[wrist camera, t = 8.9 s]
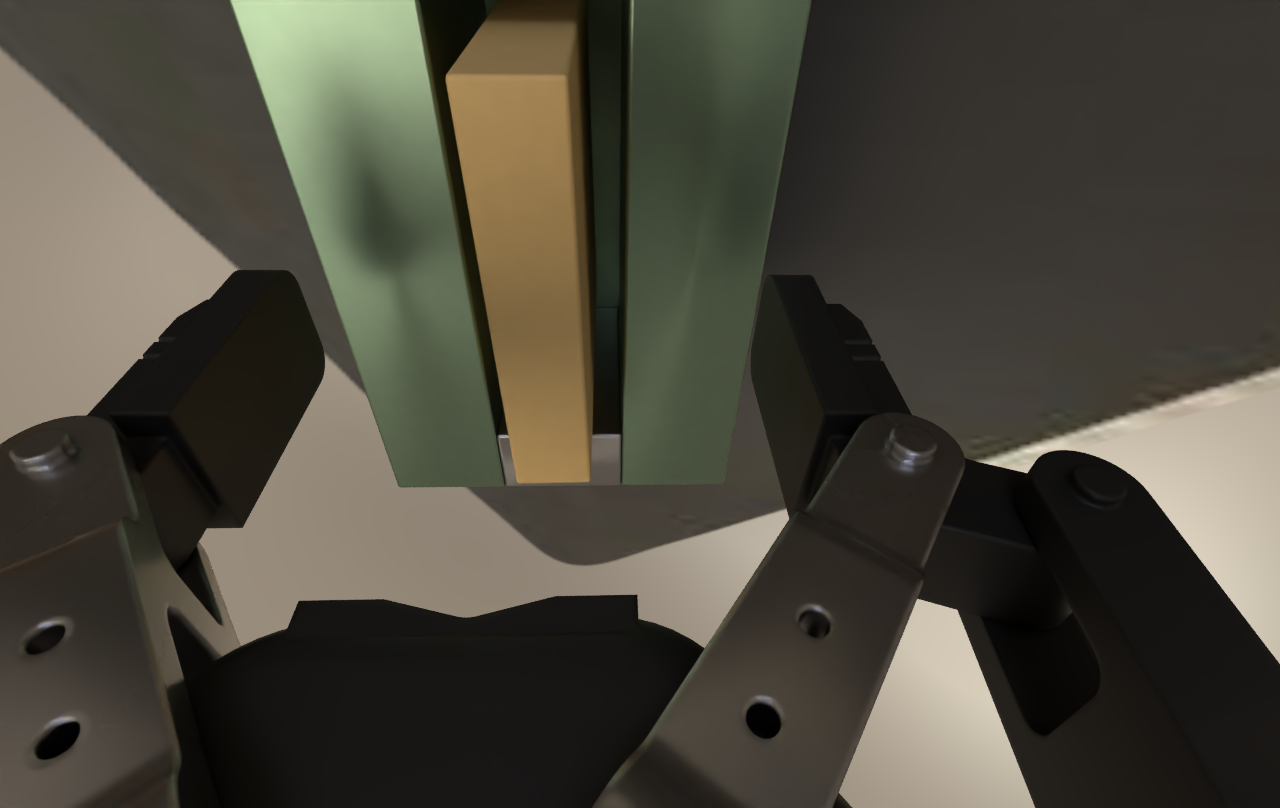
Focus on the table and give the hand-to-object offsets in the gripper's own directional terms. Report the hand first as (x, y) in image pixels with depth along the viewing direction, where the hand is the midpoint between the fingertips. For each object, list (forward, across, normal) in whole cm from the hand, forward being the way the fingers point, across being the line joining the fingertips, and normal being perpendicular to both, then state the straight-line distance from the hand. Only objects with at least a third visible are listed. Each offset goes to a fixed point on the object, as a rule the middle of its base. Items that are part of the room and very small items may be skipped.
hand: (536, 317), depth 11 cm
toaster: (+12, 0, 0) cm, 12 cm away
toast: (+8, 0, 0) cm, 8 cm away
